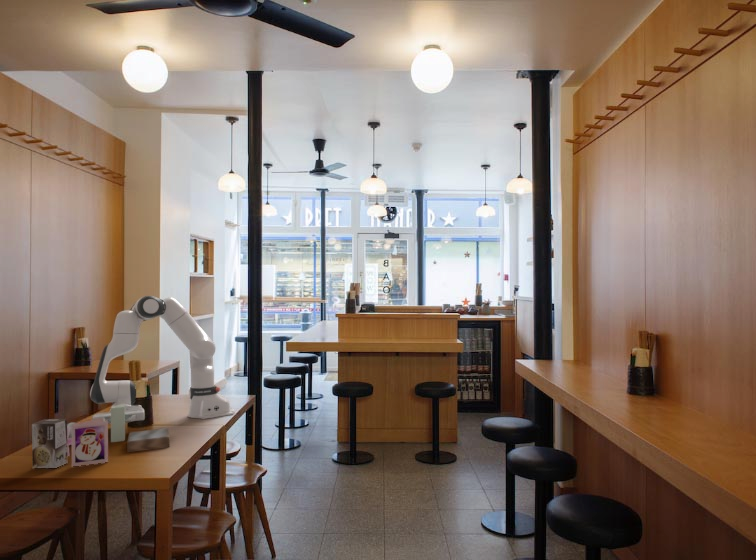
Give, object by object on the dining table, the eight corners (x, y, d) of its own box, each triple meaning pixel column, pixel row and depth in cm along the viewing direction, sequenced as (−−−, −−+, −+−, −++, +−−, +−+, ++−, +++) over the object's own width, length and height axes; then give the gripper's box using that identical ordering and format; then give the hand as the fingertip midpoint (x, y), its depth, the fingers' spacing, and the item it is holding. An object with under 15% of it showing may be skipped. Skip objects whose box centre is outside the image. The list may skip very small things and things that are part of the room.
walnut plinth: (168, 437, 216) (168, 427, 216) (169, 446, 202) (169, 436, 202) (129, 441, 210) (129, 432, 210) (127, 452, 196) (127, 441, 196)
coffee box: (68, 463, 184) (68, 418, 185) (55, 469, 178) (55, 423, 178) (45, 463, 185) (44, 418, 186) (31, 469, 179) (31, 423, 179)
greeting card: (71, 468, 179) (71, 425, 179) (74, 461, 186) (74, 420, 186) (107, 463, 184) (107, 421, 184) (109, 457, 190) (109, 417, 191)
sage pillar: (125, 437, 217) (124, 404, 217) (124, 440, 212) (124, 407, 212) (111, 439, 215) (111, 405, 215) (110, 442, 210) (110, 408, 210)
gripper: (93, 409, 221) (89, 416, 209) (145, 404, 229) (144, 410, 217) (93, 424, 221) (89, 431, 208) (145, 418, 229) (144, 425, 217)
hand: (117, 421), depth 213 cm, fingers open, 8 cm apart
